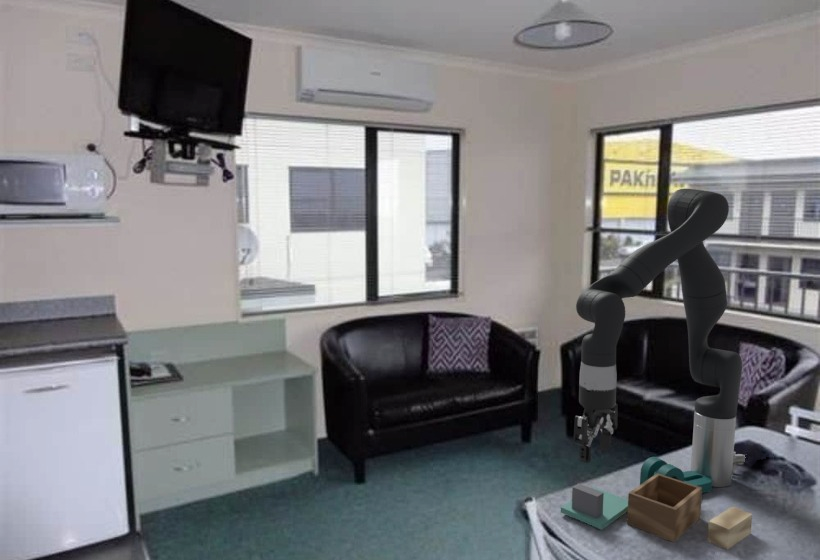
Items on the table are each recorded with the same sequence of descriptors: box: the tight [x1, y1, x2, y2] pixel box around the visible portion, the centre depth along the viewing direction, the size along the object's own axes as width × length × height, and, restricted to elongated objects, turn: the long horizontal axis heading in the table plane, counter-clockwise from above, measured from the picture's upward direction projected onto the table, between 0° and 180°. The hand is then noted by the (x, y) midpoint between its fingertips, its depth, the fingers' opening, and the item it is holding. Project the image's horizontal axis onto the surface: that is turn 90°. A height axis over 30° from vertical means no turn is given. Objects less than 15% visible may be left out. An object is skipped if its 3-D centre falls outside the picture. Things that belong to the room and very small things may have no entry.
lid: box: [560, 483, 628, 531], centre depth 134 cm, size 14×10×7 cm
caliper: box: [732, 451, 746, 475], centre depth 158 cm, size 20×1×6 cm, turn 124°
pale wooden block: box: [707, 506, 753, 551], centre depth 124 cm, size 4×10×4 cm, turn 127°
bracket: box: [639, 456, 713, 494], centre depth 144 cm, size 18×7×8 cm, turn 112°
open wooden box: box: [626, 473, 703, 543], centre depth 130 cm, size 14×10×7 cm
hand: (595, 455), depth 130 cm, fingers open, 8 cm apart
